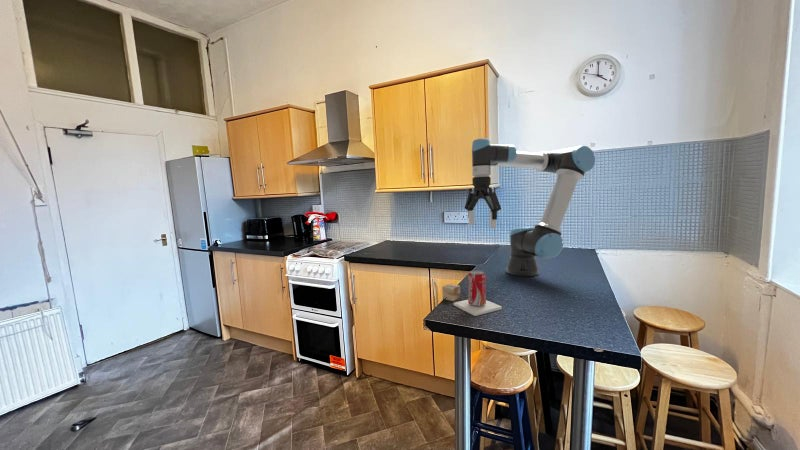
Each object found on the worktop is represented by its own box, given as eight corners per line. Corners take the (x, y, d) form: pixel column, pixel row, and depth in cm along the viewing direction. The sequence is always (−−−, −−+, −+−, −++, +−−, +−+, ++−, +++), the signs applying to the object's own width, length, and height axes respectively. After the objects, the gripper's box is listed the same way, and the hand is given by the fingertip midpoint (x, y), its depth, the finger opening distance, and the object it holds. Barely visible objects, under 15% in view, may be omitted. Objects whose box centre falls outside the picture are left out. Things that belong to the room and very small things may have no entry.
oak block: (450, 295, 129) (449, 283, 128) (460, 298, 125) (460, 285, 125) (442, 298, 125) (442, 286, 125) (453, 301, 122) (452, 288, 121)
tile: (479, 299, 122) (479, 297, 122) (501, 309, 112) (501, 306, 111) (453, 305, 117) (453, 302, 117) (474, 316, 106) (474, 313, 106)
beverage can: (464, 303, 116) (464, 271, 115) (479, 300, 118) (478, 269, 117) (474, 308, 110) (474, 275, 109) (489, 305, 112) (489, 272, 111)
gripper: (456, 178, 143) (457, 224, 145) (495, 174, 121) (495, 229, 123) (469, 178, 146) (470, 223, 148) (510, 174, 124) (510, 228, 126)
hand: (481, 226), depth 136 cm, fingers open, 13 cm apart
